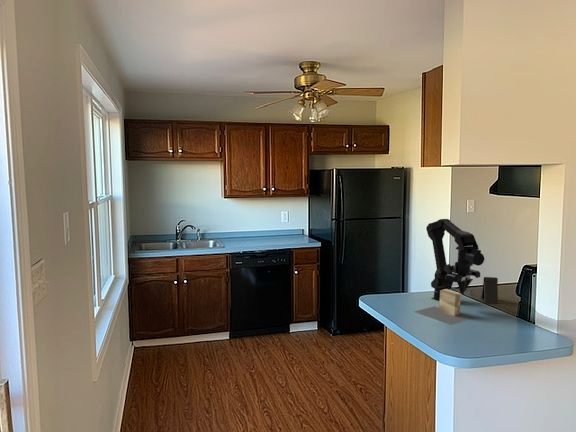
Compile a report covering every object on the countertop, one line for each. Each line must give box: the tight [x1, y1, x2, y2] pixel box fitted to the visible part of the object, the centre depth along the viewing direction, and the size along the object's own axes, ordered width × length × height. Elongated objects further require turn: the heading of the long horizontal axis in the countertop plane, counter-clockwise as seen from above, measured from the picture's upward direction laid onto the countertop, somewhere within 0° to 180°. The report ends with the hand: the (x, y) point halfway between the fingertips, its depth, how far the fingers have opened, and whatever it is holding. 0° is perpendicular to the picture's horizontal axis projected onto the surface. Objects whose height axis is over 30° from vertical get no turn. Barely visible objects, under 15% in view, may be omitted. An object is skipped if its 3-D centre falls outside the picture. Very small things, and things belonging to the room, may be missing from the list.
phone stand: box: [480, 276, 499, 304], centre depth 230 cm, size 9×6×12 cm, turn 170°
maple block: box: [438, 288, 462, 316], centre depth 208 cm, size 4×8×10 cm, turn 35°
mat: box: [413, 305, 472, 326], centre depth 206 cm, size 15×20×1 cm
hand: (462, 293), depth 213 cm, fingers closed
